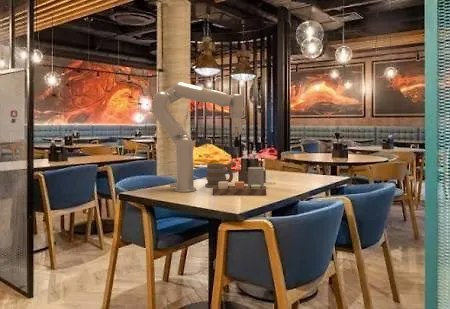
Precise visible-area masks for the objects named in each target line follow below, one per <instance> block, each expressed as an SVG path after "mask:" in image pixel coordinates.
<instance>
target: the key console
mask: <svg viewBox="0 0 450 309" xmlns="http://www.w3.org/2000/svg"><path fill="white" fill-rule="evenodd" d="M211 190H212V196H267V186H266V185H264V186H260V189H251V186H248V185H244V189H235V185H228V188H218V186H214V187H213V188H211Z"/></svg>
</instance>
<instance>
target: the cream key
mask: <svg viewBox="0 0 450 309" xmlns="http://www.w3.org/2000/svg"><path fill="white" fill-rule="evenodd" d="M228 186H229V183H228V181H219V182H218V188H228Z"/></svg>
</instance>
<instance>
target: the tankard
mask: <svg viewBox="0 0 450 309" xmlns="http://www.w3.org/2000/svg"><path fill="white" fill-rule="evenodd" d="M236 165H237V163H236V162H235V161H231V162H229V163H227V164H225V163H220V162H219V163H217V162H215V163H213V162H212V163H207V165H206V166H207V168H206V169H205V170H206V171H205V172H206V173H207V174H206V176H205V179H206V181H207V182H206V183H205V184H204V186H205V187H206V188H207V189H213V187H214V186H218V182H219V181H228V184H229V183H232V181H233V179H234V173H233V170H232V166H236ZM226 172H228V174H229V176H228V178H227V176H226Z"/></svg>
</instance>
